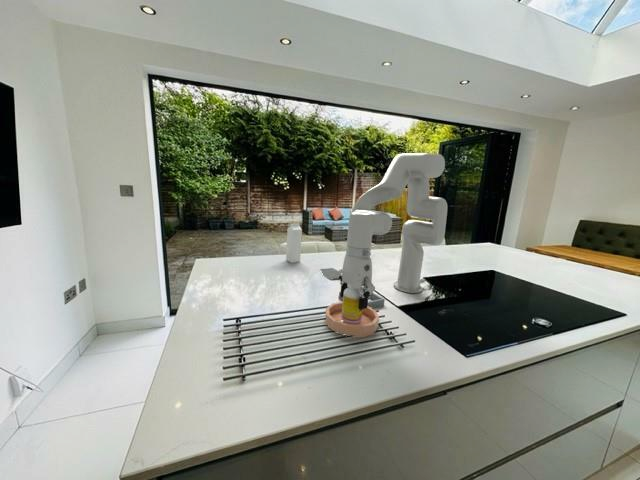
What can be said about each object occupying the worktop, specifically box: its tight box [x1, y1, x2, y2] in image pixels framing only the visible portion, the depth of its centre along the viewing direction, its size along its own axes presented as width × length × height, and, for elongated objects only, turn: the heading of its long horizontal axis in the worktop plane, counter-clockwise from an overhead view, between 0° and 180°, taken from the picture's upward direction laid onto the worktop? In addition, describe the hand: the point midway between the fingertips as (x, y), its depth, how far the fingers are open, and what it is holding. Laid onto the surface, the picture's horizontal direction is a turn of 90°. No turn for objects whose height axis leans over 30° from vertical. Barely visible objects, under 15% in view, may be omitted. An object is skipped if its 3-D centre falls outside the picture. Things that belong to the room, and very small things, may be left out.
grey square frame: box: [338, 290, 385, 308], centre depth 106 cm, size 13×13×2 cm
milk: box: [285, 222, 303, 264], centre depth 152 cm, size 6×6×22 cm
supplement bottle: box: [342, 284, 362, 324], centre depth 88 cm, size 7×7×13 cm
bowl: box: [324, 301, 380, 338], centre depth 89 cm, size 17×17×4 cm
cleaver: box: [320, 267, 340, 281], centre depth 131 cm, size 29×10×2 cm, turn 26°
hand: (353, 302), depth 88 cm, fingers open, 9 cm apart
